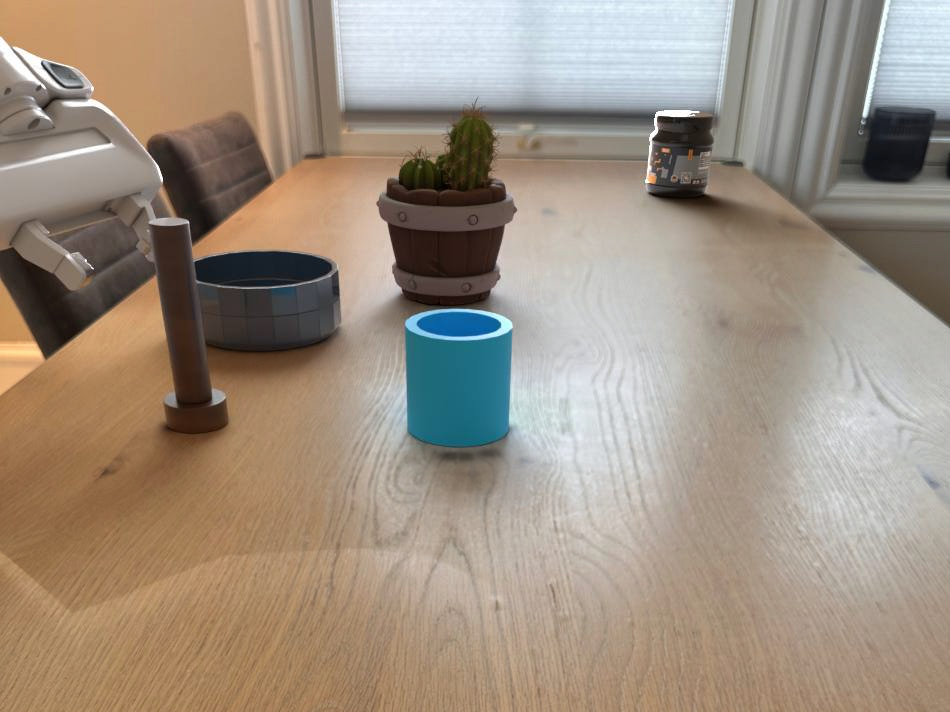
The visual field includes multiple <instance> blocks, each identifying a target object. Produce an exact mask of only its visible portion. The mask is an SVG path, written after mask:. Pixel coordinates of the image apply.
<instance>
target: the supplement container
mask: <svg viewBox="0 0 950 712" xmlns="http://www.w3.org/2000/svg"><path fill="white" fill-rule="evenodd" d="M714 123H715V115H714V114H712V113H709V112H702V111H692V110H664V111H663V110H662V111H658V112H656V114H655V118H654V126H655V130H654V131H653V132H652V133H651V134H650V137H649V143H650V145H649V152H648V161H647V170H646V171H647V172H646V179H645V189H646V190H647V192H649V193H650V194H652V195H655V196H659V197H666V198H677V199H679V198H682V199H683V198H684V199H685V198H687V199H688V198H696V197H697V198H698V197H700V196H702V195H703V194H705V193H706V192H707V190H708V185H709V176H710V168H711V163H712V155H713V146H714V144H715V137H714V134H713V133H712V132H711V131H712V130H713V128H714Z"/></svg>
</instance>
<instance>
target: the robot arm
mask: <svg viewBox="0 0 950 712" xmlns="http://www.w3.org/2000/svg"><path fill="white" fill-rule="evenodd" d="M94 89H95V88H94V86H93V84H92V83H91V81H90V80H89V79H88V78H87V77H86V75H84V73H82V71H80V70H79V69H77V68H76V67H73V66H71V65H67V64H66V65H65V64H62V63H59V62H56V61H51V60H49V59H45V58H42V57H39V56H37V55H34V54H32V53H30V52H28V51H26V50H24V49H22V48H20V47H18V46H10V45H9V43H7V42H6V41H5V39H4V38H3V37H2V36H1V35H0V252H1V251H4V250H8V249H11V248H14V250H15V251H16V252H17V253H18V254H19V255H20V256H21V257H22V258H23V260H26V261H28V262H29V263H31V264H34V265H36V266H37V267H39V268H41V269H43V270H45V271H47V272H49V273H51V274H54V276H56V277H57V279H59V281H60V282H61V283H62V284H63V285H64V286H65V287H66V289H68V290H69V291H71V292H74V291H77V290H80V289H83V288H85V287H88V286H89V285H90V284H91V282H92V280H93V279H94V278H95V276H96V271H95V269H94V267H93V266H92V265H91V264H90V263H88V262H87V259H86V258H85V257H84V256H83V255H82V254H81V253H80V252H79V251H77V252H73V253H71V252H69V251H68V250H66V249H65V248H63V247H62V246H61V245H59V244H58V243H56V242H54V241H53V240H52V239H51V237H53V236H57V235H61V234H65V233H67V232H71V231H75V230H79V229H81V228H85V227H89V226H93V225H96V224H100V223H103V222H106V221H109V220H113V219H114V220H115V219H117V218H119V220H121V222H122V223H123V224H124V225H125V226H126V227H131V226H132V228H133V230H134V232H135V234H136V236H137V238H138V243H137V244H136V245H135V248H137V250H138V251H139V252H140V253H141V254H142V255H144V256H145V259H147V261H148V262H151V263H154V258H153V251H152V245H151V239H150V232H149V226H148V222H149V221H151V220H154V219H157V218H156V214H155V212H154V209H153V206H152V204H151V203H152V201H153V200H154V198H155V197H156V195H158V193H159V191H160V189H161V188H162V186H163V184H164V183H163V182H164V181H163V176H162V173H161V170H160V167H159V165H158V164H157V162H156V161H155V160H154V158H153V157H152V155H150V153H149V152H148V151H147V150H146V148H145V147H144V146H143V145H142V143H141V142H140V141H139V140H138V138H137V137H136V136H135V135H134V134H133V132H132V131H130V130H129V128H128V127H127V126H126V125H125V124H124V123H123V121H121V119H120V118H119V117H118V116H117V115H116V114H115V113H114V112H113V111H112V110H110V109H109V108H108V107H107V106H105V105H104V104H102V103H101V102H99V101H97V100H95V99H93V98H91V96H92V95H93V93H94Z"/></svg>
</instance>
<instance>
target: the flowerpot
mask: <svg viewBox="0 0 950 712" xmlns="http://www.w3.org/2000/svg"><path fill="white" fill-rule="evenodd" d="M478 99H479V95H478V96H477V98H476V99H475V100H474V103H471V105H472V108H471V107H470V106H469V105H468V104H467V103H466V104H465V103H463V108H462V110H460V109H458V111H460V113H458V115H459V116H460V117H459V120H458V119H456V117H455V116H454V115H452V116H453V117H452V118H453V119H452V121H449V120H446V122H448V123H450V124H449V125H448V126H447V127H446V129H445V131H446V133H443V134H442V133H441V136H443V135H444V138H443V139H442V140H439V141H440V142H442V144H444V145H443V147H444V148H443V150H444V151H445V152H440V155H437V156H434V159H435V162H433V161H432V160H431V156H432V153H430V154H428V155H427V156H426V155H425V154H424V153H427V149H426V148H425V147H426V145H424V146H423V144H421V146H420V147H419V148H418V147H417V146H415V145H413V147H415V148H416V150H417V151H415V154H413V153H412V151H409V150H407V152H408V153H410V154H407V155H405V156H404V158H403V159H402V162H401V164H399V165H398V167H400V168H399V171H398V172H399V173H398V177H397V176H391V177H388V178H387V180H386V188H385V190H383V191H381V192H380V194H379V196H378V200H376V203H375V205H376V206H377V207H378V214H379V216H380V218H381V219H382V220H383V221H384V222H386V224H387V229H388V235H389V238H390V244H391V247H392V251H393V255H394V260H395V261H394V263H392V265H391V270H392V271H391V273H392V275H393V278H394V281H395V283H396V285H397V286H398V287H399V288H401V293H402V294H403V295H404V296H406V297H407V298H408V299H410V300H412V301H415V302H417V301H418V302H419V303H422V304H427V305H429V304H430V305H436V304H439V303H440V305H443V306H450V305H452V306H455V305H464V304H470V303H475V302H477V301H483V300H486V299H487V298H488V297H489V296H490V295H491V292H492V289H494V288H495V287H496V286H497V283H498V281H500V280H501V277H502V276H501V274H500V272H501V267H500V265H499V263H497V261H498V258H499V254H500V250H501V246H502V242H503V239H504V233H505V228H506V225H507V224H509V223H511V222H512V221H513V219H514V216H515V214H516V213H517V212H518V208H517V207H516V204H515V199H514V197H513V196H512V194H510V193H508V192H507V189H506V184H505V181H503V180H502V179H499V178H496V177H493V173H495V174H497V172H496V171H498V169H494V168H495V167H497V162H499V159H501V158H502V157H498V153H500V151H499V148H498V149H497V148H496V147H499V146H500V145H501V143H500V142H499V139H502V138H503V136H501V137H499V135H500V132H498V133H496V132H494V131H495V130H499V128H498V125H495V123H493V122H492V121H490V120H487V119H488V118H491V115H488V113H489V112H490V111H491V109H490V110H488V111H487V112H486V113H483V109H484V108H486V107H487V106H486V105H485V106H480V107H479V108H477V109H476V104H477V101H478ZM465 107H467V108H465ZM467 109H468V110H467ZM455 119H456V120H455ZM486 120H487V121H486ZM490 123H491V124H490ZM450 127H451V128H450ZM449 128H450V129H451V130H449ZM446 135H447V136H446ZM444 140H445V141H446V142H445V141H444ZM496 144H497V146H496ZM423 148H424V150H425V152H423V150H422V149H423ZM437 153H439V150H438V151H437V150H436V151H435V154H437ZM421 154H422V155H421ZM421 156H422V157H421ZM407 157H408V158H407ZM496 157H497V158H496ZM407 159H409V160H407ZM405 160H407V162H405V163H404V161H405ZM496 161H497V162H496ZM494 164H495V165H494Z"/></svg>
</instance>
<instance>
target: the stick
mask: <svg viewBox="0 0 950 712" xmlns="http://www.w3.org/2000/svg"><path fill="white" fill-rule="evenodd" d="M148 226H149V232H150V239H151V245H152V251H153V258H154V262H153V263H154V269H155V275H156V282H157V288H158V294H159V300H160V307H161V314H162V319H163V326H164V332H165V333H164V334H165V338H166V345H167V351H168V357H169V363H170V370H171V375H172V376H171V377H172V381H173V388H174V390H173V391H170V392H168V393H166V395H164V397H163V399H162V403H163V404H162V405H163V410H164V415H165V423H166V426H167V427H168V428H169V429H170V430H172V431H174V432H178V433H183V434H203V433H209V432H212V431H216V430H219V429H221V428H223V427H225V426H226V425H227V424H228V423H229V420H230V417H229V410H228V402H227V395H226V393H225V392H224V391H222V390H220V389H217V388H212V382H211V381H212V380H211V374H210V367H209V360H208V359H209V358H208V353H207V343H205V337H204V329H203V322H202V315H201V308H200V300H199V293H198V286H197V278H196V271H195V264H194V259H195V257H194V251H193V250H194V249H193V243H192V236H191V229H190V222H189V220H188V219H186V218H181V217H160V218H156V219H154V220H151V221H149V222H148Z"/></svg>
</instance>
